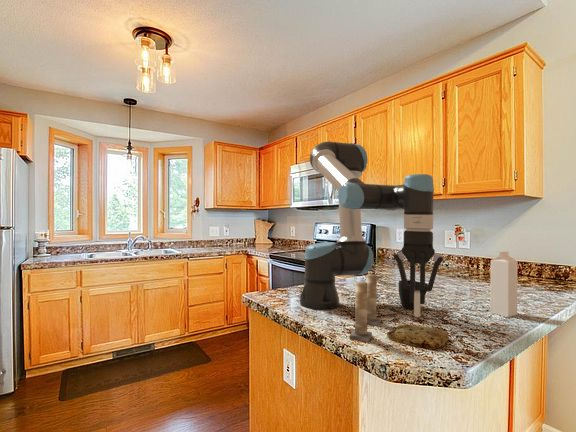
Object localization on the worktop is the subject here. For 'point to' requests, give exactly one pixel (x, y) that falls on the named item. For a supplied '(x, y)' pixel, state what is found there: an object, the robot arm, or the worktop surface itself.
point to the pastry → (419, 336)
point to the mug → (408, 295)
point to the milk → (503, 285)
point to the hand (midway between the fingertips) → (417, 315)
